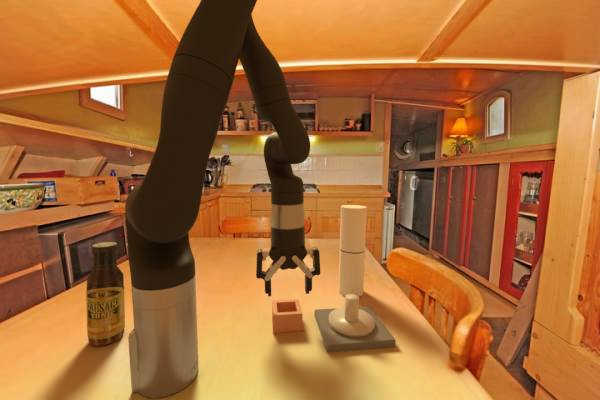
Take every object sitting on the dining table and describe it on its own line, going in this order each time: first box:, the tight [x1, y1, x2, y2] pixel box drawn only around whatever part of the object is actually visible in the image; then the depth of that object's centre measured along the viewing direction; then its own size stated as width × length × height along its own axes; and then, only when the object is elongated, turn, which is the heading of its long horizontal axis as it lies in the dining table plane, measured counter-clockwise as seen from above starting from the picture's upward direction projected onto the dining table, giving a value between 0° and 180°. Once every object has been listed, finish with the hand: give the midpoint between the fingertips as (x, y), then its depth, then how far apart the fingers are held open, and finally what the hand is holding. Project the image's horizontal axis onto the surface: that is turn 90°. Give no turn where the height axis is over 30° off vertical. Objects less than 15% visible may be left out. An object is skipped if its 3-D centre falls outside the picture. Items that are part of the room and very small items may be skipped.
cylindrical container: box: [338, 204, 368, 298], centre depth 75 cm, size 7×7×25 cm
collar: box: [271, 298, 304, 334], centre depth 60 cm, size 6×6×4 cm
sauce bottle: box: [85, 241, 126, 347], centre depth 53 cm, size 7×6×20 cm
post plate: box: [314, 294, 396, 353], centre depth 58 cm, size 14×13×8 cm
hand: (288, 293), depth 59 cm, fingers open, 8 cm apart
